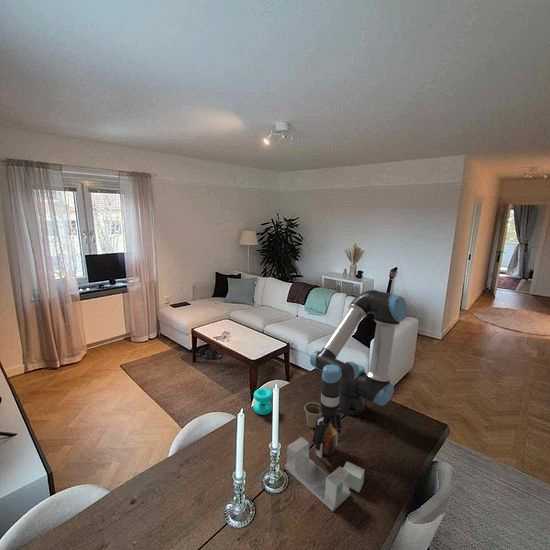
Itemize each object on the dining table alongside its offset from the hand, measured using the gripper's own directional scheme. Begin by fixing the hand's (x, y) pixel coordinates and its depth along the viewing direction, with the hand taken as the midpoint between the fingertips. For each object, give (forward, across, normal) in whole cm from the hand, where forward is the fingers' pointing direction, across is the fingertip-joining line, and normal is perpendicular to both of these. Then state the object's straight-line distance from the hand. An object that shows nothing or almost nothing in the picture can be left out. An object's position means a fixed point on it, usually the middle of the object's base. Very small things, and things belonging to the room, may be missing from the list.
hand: (326, 449), depth 130 cm
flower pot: (+2, -10, -16) cm, 19 cm away
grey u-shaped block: (+1, +14, +6) cm, 16 cm away
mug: (+2, 0, 0) cm, 2 cm away
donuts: (+2, +2, -40) cm, 40 cm away
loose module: (+2, +4, +16) cm, 17 cm away
